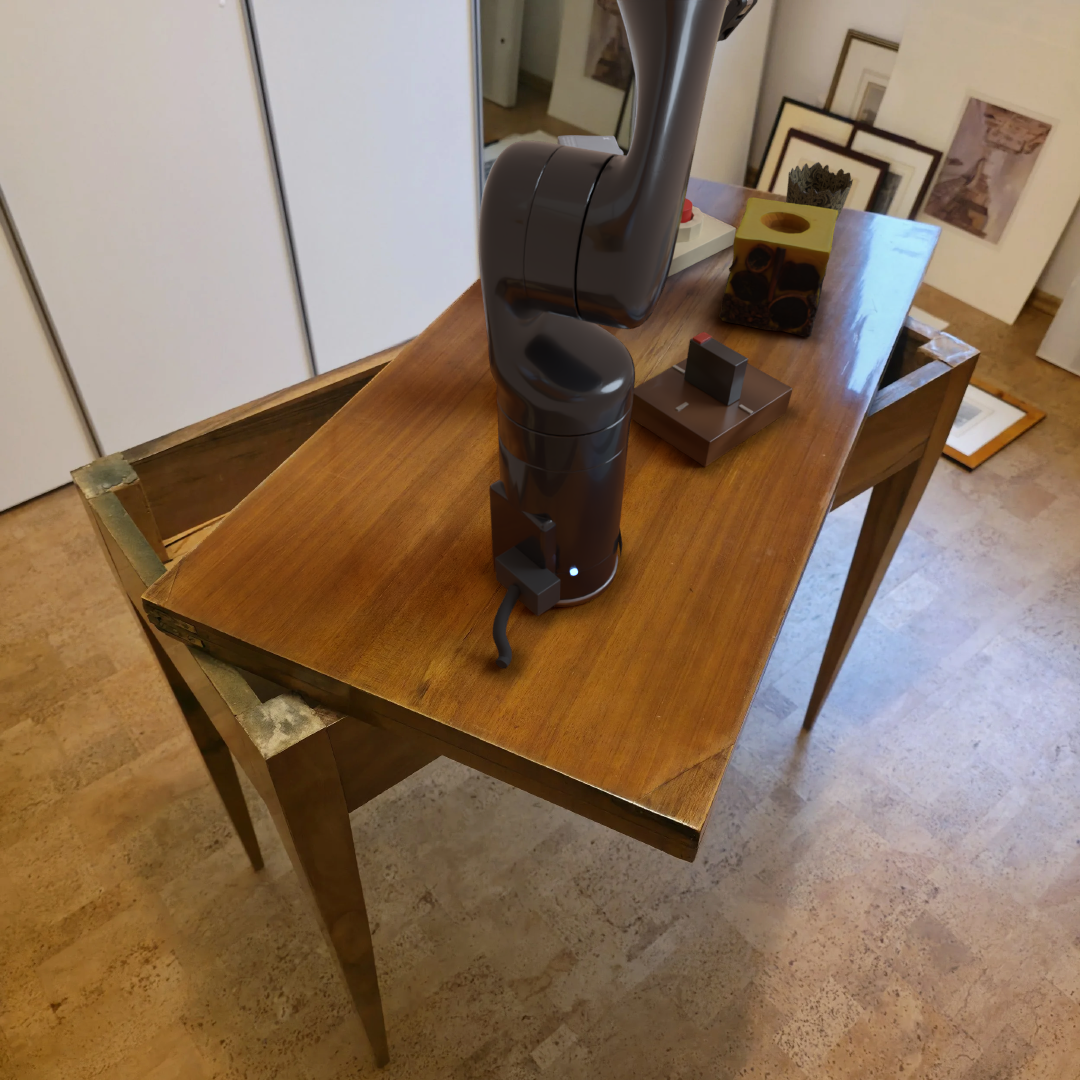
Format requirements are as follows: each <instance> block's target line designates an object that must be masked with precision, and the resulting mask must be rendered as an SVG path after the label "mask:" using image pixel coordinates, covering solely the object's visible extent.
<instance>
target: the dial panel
mask: <svg viewBox="0 0 1080 1080" xmlns="http://www.w3.org/2000/svg"><path fill="white" fill-rule="evenodd" d="M686 362H687V357H686V358H684V359H683V360H680V361H679V362H677V363H675V364H673V365H672V366H670V367H668V368H667V369H665V370H663V371H661V372H660V373H658V374H657V375H654V376H653V377H651V378H649V379H648V380H646V381H644V382H643V383H640V384H639V385H637V386H634V394H633V402H632V412H631V420H633V421H634V422H636V423H638V424H639V425H641V426H642V427H644V428H645V429H647V430H648V431H650V432H652V433H653V434H654V435H656V436H657V437H659V438H661V439H662V440H663V441H665V442H667V443H668V444H669V445H671V446H673V447H674V448H676V449H677V450H679V451H680V452H682V453H683V454H685V455H686V456H687V457H689V458H691V459H692V460H694V461H695V462H697V463H698V464H700V465H701V466H702V467H704V468H706V467H707V466H709V465H710V464H712V463H713V462H716V460H718V459H719V458H721V457H722V456H724V455H726V454H727V453H728V452H730V451H731V450H733V449H735V448H736V447H738V446H739V445H741V444H742V443H744V442H745V441H746V440H748V439H750V438H751V437H753V436H754V435H756V434H758V432H760V431H761V430H763V429H765V428H766V427H768V426H769V425H771V424H772V423H773V422H776V421H777V420H778V419H779V418H781V417H783V416H784V415H786V414H787V412H788V408H789V404H790V400H791V397H792V394H793V393H792V392H793V387H791V386H789V385H788V384H786V383H784V382H782V381H780V380H779V379H777V378H775V377H773V376H772V375H770V374H768V373H766V372H765V371H763V370H761V369H759V368H757V367H755V366H754V365H752V364H750V363H748V362H747V367H746V372H745V376H744V381H743V386H742V390H741V395H740V399H738V400H737V401H735V402H733V403H732V404H730V405H728V406H726V405H725V404H723V403H722V402H720V401H718V400H717V399H715V398H713V397H712V396H710V395H709V394H707V393H705V392H704V391H702V390H701V389H699V388H697V387H696V386H694V385H692V384H691V383H689V382H688V381H686V380H684V376H685V369H686Z"/></svg>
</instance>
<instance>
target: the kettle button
mask: <svg viewBox="0 0 1080 1080" xmlns="http://www.w3.org/2000/svg"><path fill="white" fill-rule="evenodd" d="M692 206H694V205H693V202H692V200H690V199H688V198H687V197H686V198H685V203H684V208H683V213H682V218H681V223H686V222H688V221H690V220H691V214H692Z"/></svg>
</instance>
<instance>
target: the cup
mask: <svg viewBox="0 0 1080 1080" xmlns="http://www.w3.org/2000/svg"><path fill="white" fill-rule="evenodd" d="M829 168H830V166H829V164H825V165H824V166H823V165H822V164H821V163H820V162H819V161H818V162H815V163H814V164H812V165H811V166H810V167H809V165H808V163H805V164H804V165H803V166H802V169H801V168H800V166H799V165H796V166H795V168H794V167H792V168H791V170H790V171H789V172H788V179H787V188H786V198H785V199H786V201H785V202H786V203H794V204H800V205H809V206H815V207H821V208H828V209H833V210H838V215H837V219H836V222H837V221H838V219H839V217H840V215H841V213H842V211H843V208H844V206H845V204H846V201H847V198H848V196H849V193H850V190H851V188H852V186H853V182H854V179H852V176H851V172H846V173H845V170H844V169H843V168H840V169H839V170H838V171H837V173H835V172H834V171H830V170H829Z"/></svg>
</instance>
